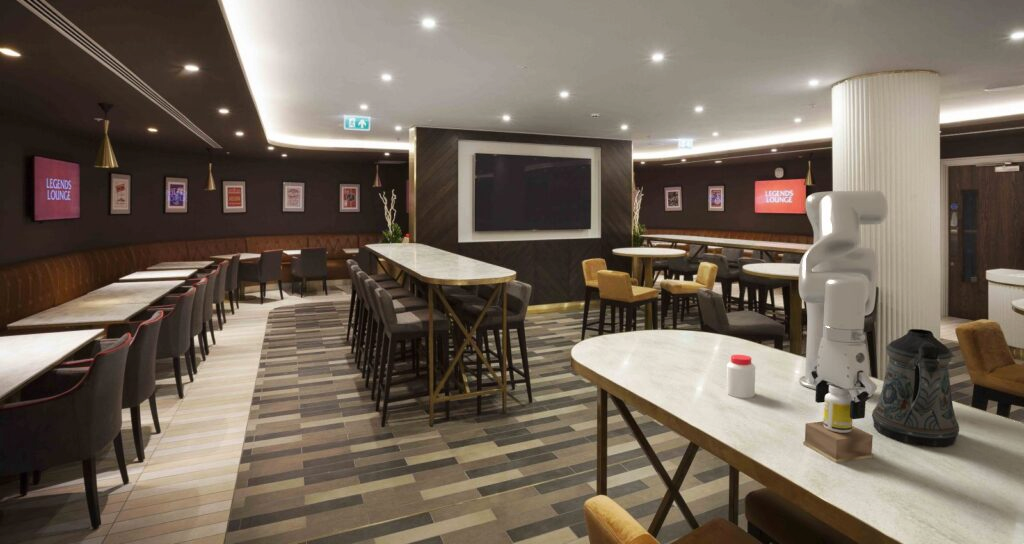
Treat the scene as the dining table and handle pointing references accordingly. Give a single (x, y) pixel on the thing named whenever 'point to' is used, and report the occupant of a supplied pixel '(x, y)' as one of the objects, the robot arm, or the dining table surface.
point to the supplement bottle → (837, 410)
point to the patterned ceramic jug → (917, 393)
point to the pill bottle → (740, 377)
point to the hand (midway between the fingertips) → (839, 409)
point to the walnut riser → (838, 443)
